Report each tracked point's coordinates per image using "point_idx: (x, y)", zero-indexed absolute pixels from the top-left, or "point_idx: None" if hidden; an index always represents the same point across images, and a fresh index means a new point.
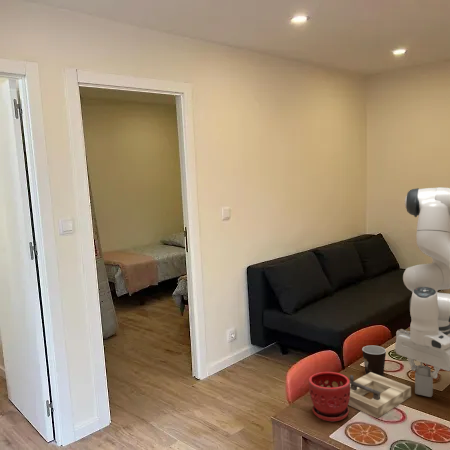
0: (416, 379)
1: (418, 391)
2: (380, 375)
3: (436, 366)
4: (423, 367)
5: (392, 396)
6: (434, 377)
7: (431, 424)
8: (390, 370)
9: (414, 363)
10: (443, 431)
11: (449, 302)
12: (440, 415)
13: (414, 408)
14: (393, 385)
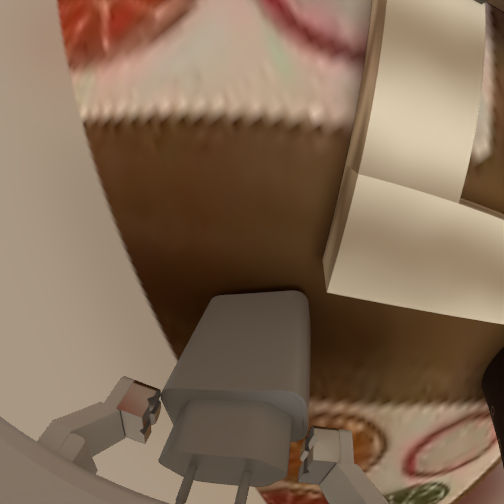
0: (289, 356)
1: (281, 301)
2: (499, 365)
3: (21, 442)
4: (219, 466)
5: (400, 51)
6: (121, 380)
7: (117, 26)
8: (450, 429)
9: (325, 492)
10: (66, 21)
11: None
12: (108, 142)
13: (251, 119)
14: (448, 243)
